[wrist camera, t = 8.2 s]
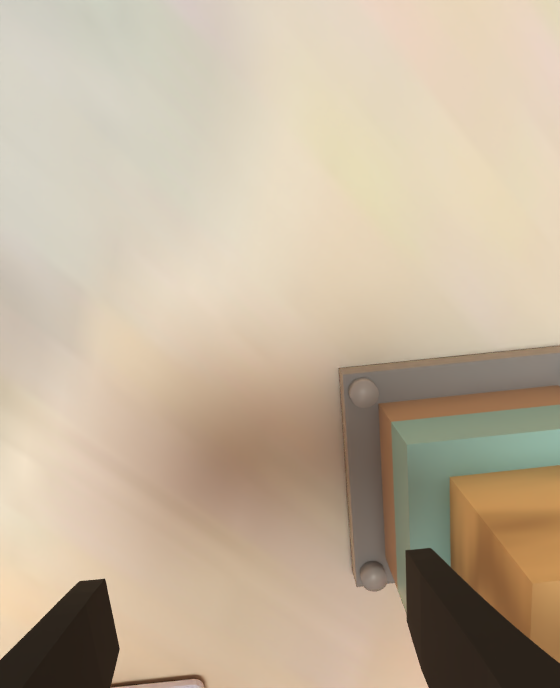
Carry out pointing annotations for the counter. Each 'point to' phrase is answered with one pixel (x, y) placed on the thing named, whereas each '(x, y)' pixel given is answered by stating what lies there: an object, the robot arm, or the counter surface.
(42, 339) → the counter surface
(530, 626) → the ochre brick
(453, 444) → the teal block with base
